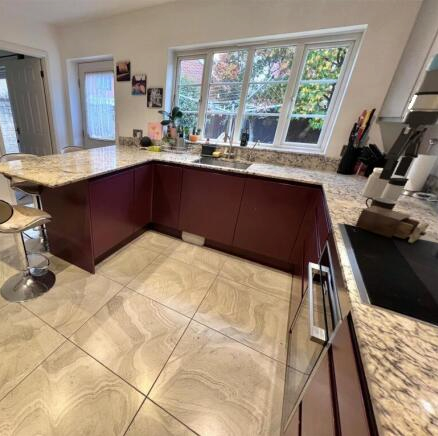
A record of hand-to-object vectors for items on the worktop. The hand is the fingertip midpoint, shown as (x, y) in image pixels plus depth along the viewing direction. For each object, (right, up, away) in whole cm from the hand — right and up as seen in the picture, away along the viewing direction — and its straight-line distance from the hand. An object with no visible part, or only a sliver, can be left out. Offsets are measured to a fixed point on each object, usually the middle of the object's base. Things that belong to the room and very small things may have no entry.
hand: (391, 177), depth 81 cm
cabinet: (+19, -20, +24) cm, 37 cm away
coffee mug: (+30, -14, +37) cm, 50 cm away
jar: (+60, 0, +70) cm, 92 cm away
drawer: (+23, -21, +18) cm, 36 cm away
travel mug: (+38, -13, +41) cm, 57 cm away
